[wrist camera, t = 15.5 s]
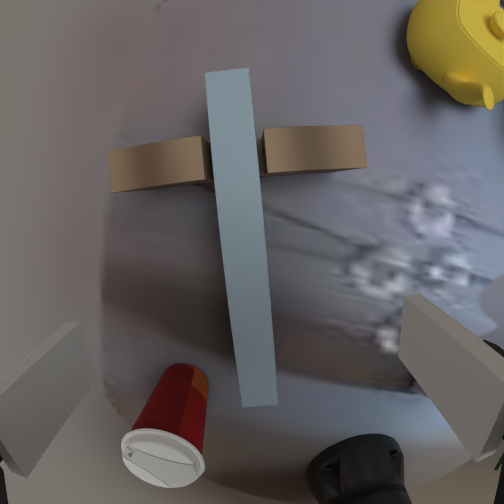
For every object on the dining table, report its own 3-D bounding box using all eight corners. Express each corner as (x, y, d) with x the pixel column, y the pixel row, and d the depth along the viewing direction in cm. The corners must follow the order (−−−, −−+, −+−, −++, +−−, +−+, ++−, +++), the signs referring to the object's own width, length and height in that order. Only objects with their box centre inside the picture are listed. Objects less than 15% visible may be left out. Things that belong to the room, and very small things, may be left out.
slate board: (219, 106, 29) (204, 73, 19) (250, 102, 29) (248, 68, 19) (245, 350, 34) (242, 407, 25) (272, 348, 34) (278, 404, 24)
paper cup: (146, 387, 36) (108, 465, 22) (170, 344, 34) (131, 425, 21) (200, 415, 36) (183, 500, 23) (230, 375, 35) (219, 465, 21)
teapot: (372, 96, 29) (429, 58, 16) (413, -16, 25) (456, -64, 13) (465, 158, 30) (539, 155, 17) (491, 41, 26) (546, 15, 14)
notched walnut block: (329, 142, 30) (362, 125, 20) (332, 172, 30) (366, 167, 20) (150, 160, 30) (107, 152, 20) (153, 189, 31) (111, 192, 21)
